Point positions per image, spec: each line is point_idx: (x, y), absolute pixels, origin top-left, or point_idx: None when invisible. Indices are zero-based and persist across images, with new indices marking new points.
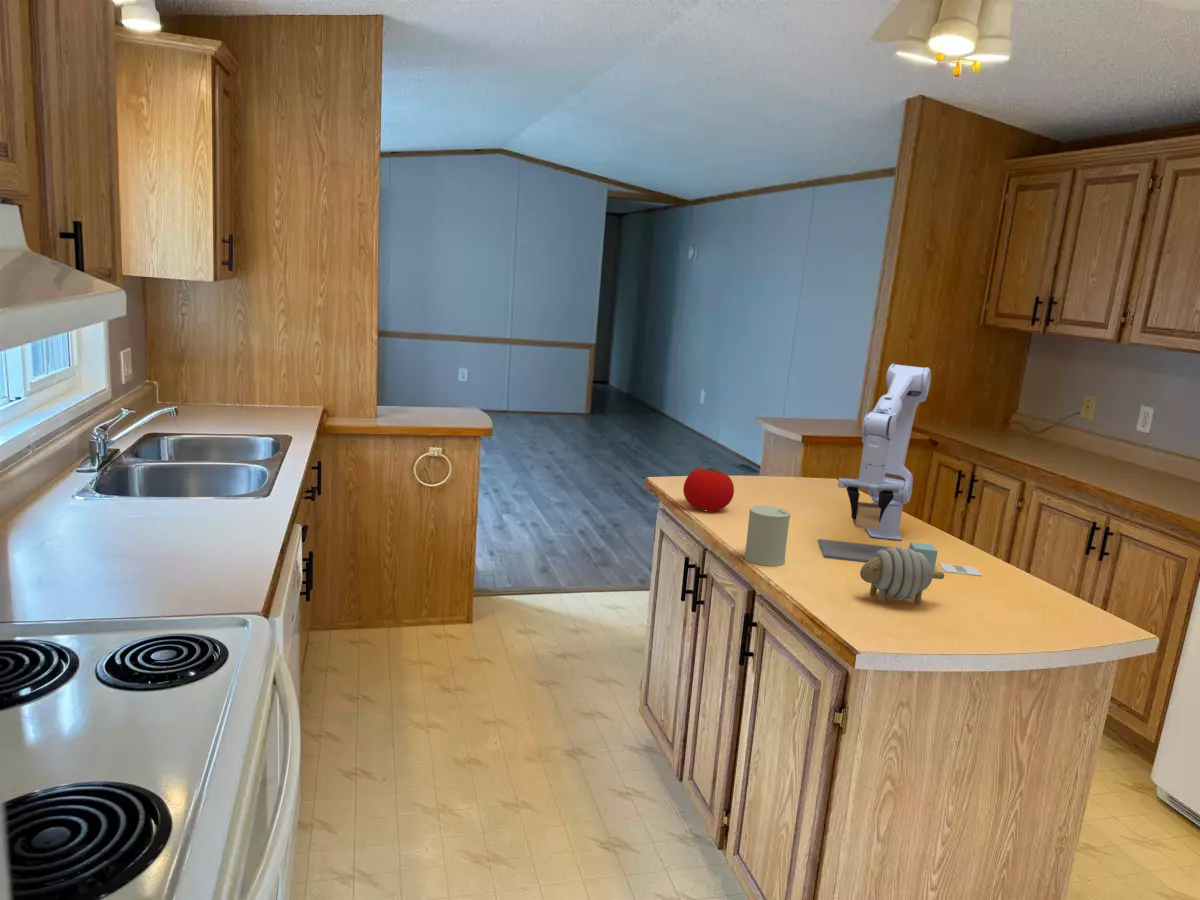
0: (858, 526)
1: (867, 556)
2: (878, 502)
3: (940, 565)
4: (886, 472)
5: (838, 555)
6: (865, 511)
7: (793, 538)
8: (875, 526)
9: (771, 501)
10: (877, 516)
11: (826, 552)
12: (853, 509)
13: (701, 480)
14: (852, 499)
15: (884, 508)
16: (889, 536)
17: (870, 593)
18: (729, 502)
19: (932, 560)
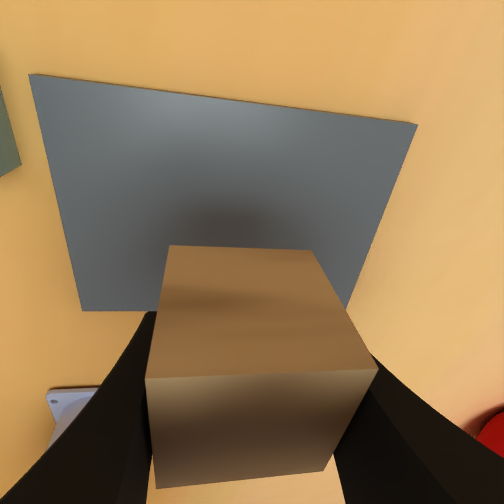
0: (298, 253)
1: (216, 160)
2: (145, 502)
3: None
4: None
5: (352, 138)
6: (297, 336)
7: (409, 307)
8: (187, 256)
9: (331, 491)
10: (178, 310)
11: (388, 167)
12: (376, 359)
13: None
14: (472, 445)
15: (95, 410)
16: (90, 397)
17: None
18: (489, 442)
19: None
